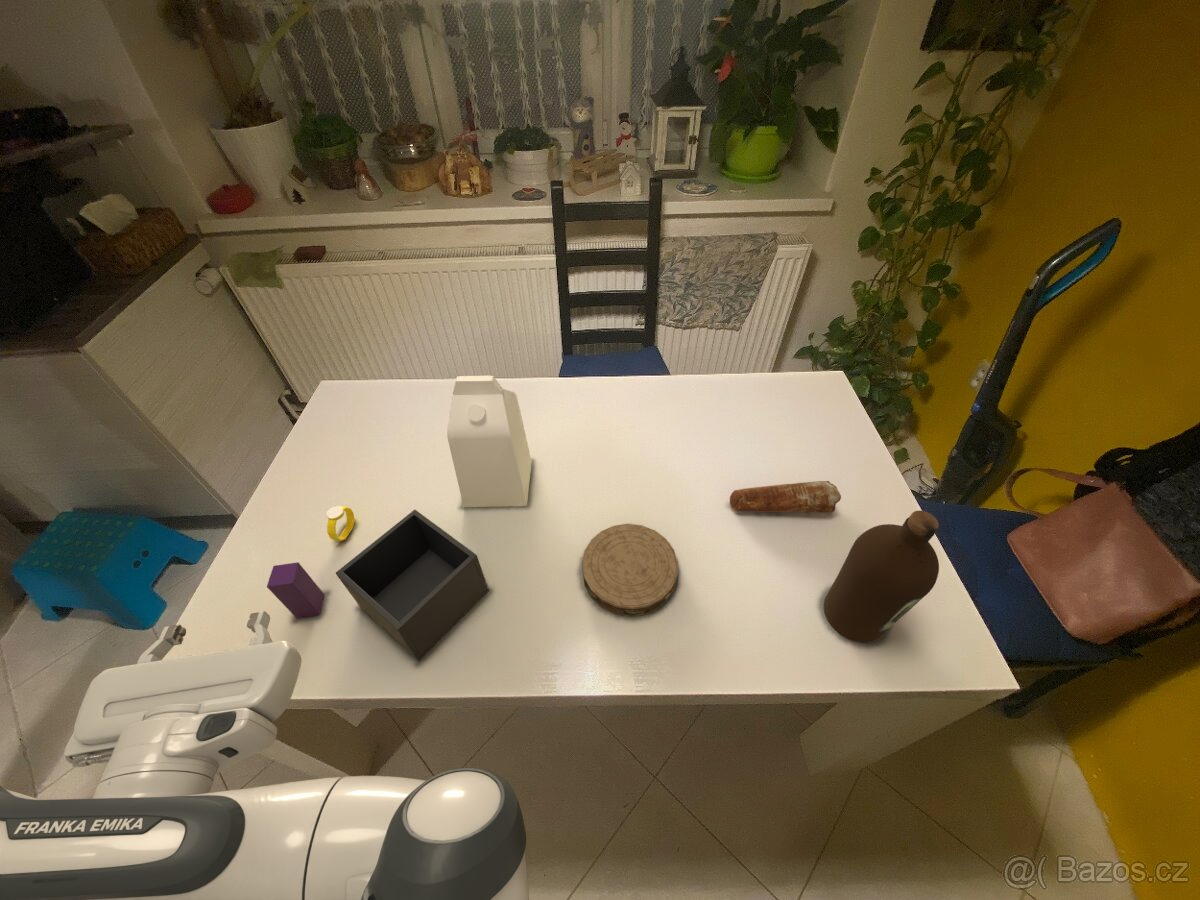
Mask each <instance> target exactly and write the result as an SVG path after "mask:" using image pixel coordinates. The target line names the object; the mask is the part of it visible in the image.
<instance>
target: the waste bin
mask: <svg viewBox="0 0 1200 900" xmlns="http://www.w3.org/2000/svg"><path fill="white" fill-rule="evenodd" d="M335 575H336V577H337V578H338V579H339V580H340V582H341V583H342V585H343V586H344V588H345V589H346V590H347V591H348V593H349V595H350V596H351V597H352V598H353V599H354V601H355V602H356V604H357V605H358V607H359V608H360V609H361V610H362V611H363V612H364V613H366V614H367V615H368V616H369V617H370V618H371V619H372V620H373V621H374V622H375V623H376V624H377V625H378V626H379V627H381V628H382V629H383V630H384V632H386V633H387V634H388V635H389V636H390V637H391V638H392V639H393V640H395V642H397V644H399V645H400V646H401V647H402V648H403V649H404V650H405V651H406V652H407V653H409V654H410V655H411V656H412V657H413V658H414V659H415V660H416V661H417V662H418V663H419V662H420V661H421V660H422V659H424V657H425V656H426V655H427V654H428V653H429V652H430V651H432V649H433V648H434V647H435V646H436V645H437V644H438V643H439V642H440V641H441V640H442V639H443V638H444V637H445V636H446V635H447V634H448V633H449V632H450V631H451V630H452V629H453V628H454V627H455V626H456V625H457V624H458V623H459V622H460V621H461V620H462V619H463V618H464V617H465V616H466V615H467V614H468V613H469V612H470V611H471V610H472V609H473V608H474V607H475V606H476V605H477V604H478V603H479V601H481V599H482V598H484V596H485V595H487V594H488V592H489V591H490V590H489V587H488V584H487V583H488V582H487V581H486V577H485V575H484V571H483V568H482V565H481V564H480V559H479V557H478V555H477V554H476V553H475V552H473V550H471V549H470V548H468V547H467V546H465V544H463V543H462V542H460V541H459V540H457V539H456V538H454V537H453V536H452V535H451V534H449V533H448V532H447V531H445V530H444V529H442V528H441V527H440V526H438V525H437V524H436V523H434V522H433V521H432V520H431V519H429V518H428V517H426V516H425V515H423V514H422V513H420V512H419V511H418V510H417V509H413V510H412V511H411V512H409V513H408V514H407V515H406V516H404V517H403V518H402V519H401V520H400V521H398V522H397V523H395V524H394V525H393V526H392V527H390V528H389V529H388V530H387V531H385V532H384V533H383V534H381V536H378V538H377V539H375V541H373V542H372V543H370V544H369V545H368V546H367V547H365V548H364V549H363V550H362V551H361V552H359V553H358V554H357V555H356V556H354V557H353V558H352V559H350V560H349V561H348V562H347V563H345V564H344V565H343V566H342V567H340V569H338V570H337V571H336V572H335Z"/></svg>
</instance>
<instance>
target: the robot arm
mask: <svg viewBox="0 0 1200 900" xmlns="http://www.w3.org/2000/svg"><path fill="white" fill-rule="evenodd" d="M270 622H271V616H270V614H268V612H267V611H258V612H252V613H250V614H249V619H248V620H247V622H246V627H247V628H248V629H250V630H251V632H253V633H255V635H256V637H252V638H251V639H250V642H249V645H247V646H241V647H234V648H229V649H222V650H216V651H210V652H204V653H198V654H192V655H185V656H180V657H172V658H167V659H166V658H165V657H166V655H167V654H169V652H170V651H171V650H172V649H173V647H174V646H180V645H182V644H183V642H184V637H185V636H186V635H187V629H186V627H183V626H182V625H181V624H174V625H168V626H164V627H163V629H162V631H161V634H160V636H159V638H158V639H157V640H155V642H154V643H152V644H151V645H150V646H149V647H148V648H147V649H146V650H144V652H142V654H140V655H139V657H138V660H137V662H136V663H135V664H130V665H129V664H128V665H123V666H116V667H110V668H106V669H104V670H102V671H101V672H100V673H99V674H97V676H94V678H93V679H92V680H91V681H90V684H89V686H88V687H87V689H86V692H85V694H84V697H83V699H82V701H81V705H80V707H79V710H78V713H77V716H76V719H75V722H74V726H73V732H72V734H71V736H70V738H69V740H68V741H67V744H66V746H65V748H64V751H63V756H64V758H65V761H66V762H67V763H69V764H72V767H73V768H84V767H88V766H91V765H94V764H105V763H106V766H105V768H104V771H103V773H102V776H101V778H100V779H99V782H98V785H97V786H96V789H95V791H94V794H93V796H92V798H64V799H62V798H61V799H60V798H59V799H58V798H57V799H40V798H36V797H33V796H29V795H26V794H23V793H19V792H18V791H17V792H16V791H13V790H10V789H7V788H4V787H3V786H2V785H0V900H530V891H529V879H528V878H529V876H528V868H527V860H526V853H525V852H526V847H527V831H526V827H525V821H524V817H523V811H522V809H521V805H520V802H519V799H518V797H517V794H516V792H515V790H514V788H513V787H512V786H511V784H510V783H509V782H508V780H507V779H505V778H504V777H502V776H501V775H499V774H497V773H495V772H493V771H490V770H486V769H481V768H475V767H460V768H453V769H448V770H446V771H443V772H440V773H438V774H435V775H433V776H432V777H429V778H428V779H426V780H425V779H418V778H410V777H402V776H388V775H354V776H353V775H349V776H348V775H347V776H333V777H322V778H313V779H305V780H296V781H290V782H283V783H282V782H281V783H275V784H270V785H262V786H254V787H248V788H238V789H229V790H221V791H212V792H210V791H211V789H212V786H213V785H214V784H213V783H214V781H215V778H216V775H217V774H220V773H222V772H223V771H225V770H227V769H228V768H230V767H233V766H234V765H236V764H237V763H240V762H242V761H244V760H245V759H247V758H250V757H252V756H254V755H256V754H258V753H261V752H263V751H264V750H266V749H269V748H270V747H271V746H272V745H274V743H275V741H276V738H277V735H278V727H277V726H276V725H275V724H274V723H273V722H275V721H276V720H277V719H279V718H280V717H281V716H282V715H283V714H284V712H285V711H286V709H287V708H288V706H289V703H290V701H291V699H292V696H293V693H294V691H295V687H296V685H297V681H298V679H299V678H298V677H299V675H300V670H301V667H302V661H303V659H302V655H301V654H300V652H299V651H298V649H296V648H295V646H293V645H292V644H291V643H290V642H289V641H286V640H279V641H273V639H272V636H271V635H270V632H269V630H268V628H269V625H270ZM164 658H165V659H164Z"/></svg>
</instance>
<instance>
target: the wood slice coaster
mask: <svg viewBox="0 0 1200 900" xmlns="http://www.w3.org/2000/svg"><path fill="white" fill-rule="evenodd" d="M581 568H582V570H581V571H582V577H583V584H584V587H585V589H586V592H587V593H588V595H589V596H590V598H591V599H592V600H593V601H594V602H595V603H596V604H597V605H598V606H599V607H601V609H603V610H606V611H607V612H610V613H612V614H615V615H617V616H624V617H631V618H633V617H639V616H645V615H648V614H651V613H652V612H654V611H656V610H658V609H660V608H661V607H663V605H664V604H665V603H666V602H667V601H668V600H669V599H670V598H671V596H672V594H673V592H674V589H675V587H676V584H677V579H678V568H679V561H678V558H677V555H676V551H675V549H674V547H673V546H672V545H671V543H670V542H669V541H668V539H667V538H666V537H664V536H663V535H662V534H660V533H659V532H658V531H657V530H655V529H653V528H650V527H647V526H645V525H643V524H633V523H623V524H616V525H612V526H610V527H608V528H605V529H603V530H601V531H600V532H599V533H597V534H596V535H595V536H593V538H591V539H590V541H589V543H588V544H587V545H586V547H585V549H584V551H583V557H582V560H581Z"/></svg>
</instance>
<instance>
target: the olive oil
mask: <svg viewBox="0 0 1200 900" xmlns="http://www.w3.org/2000/svg"><path fill="white" fill-rule="evenodd" d="M939 526H940V524H939V521H938V519H937V517H935V516H934V515H933V514H931V513H930V512H927V511H925V510H914V511H913V512H911V514H910V515H909V517H907V518H906V519H905V521H904V522H903V524H902V525H900V524H893V523H892V524H891V523H888V524H887V523H886V524H878V525H876V526H873V527H870V528H869V529H867V530H865V531H864V532H863V533H861V534H860V535H858V537H857V538H856V539H855V541H854V542H853V544H852V546H851V547H850V550H849V552H848V553H847V556H846V557H845V560H844V561H843V564H842V566H841V568H840V570H839V571H838V574H837V576H836V578H835V579H834V581H833V583H832V584H831V587H830V588H829V590H828V592H827V593H826V595H825V598H824V601H823V612H824V615H825V618H826V619H827V621H828V623H829V624H830V626H831V627H832V628H833V629H834V630H835V631H836V632H837V633H839V634H840V635H841V636H843V637H844V638H846V639H848V640H851V641H853V642H858V643H863V644H864V643H867V644H868V643H873V642H875V641H877V640H879V639H880V638H882V637H883V636H884V635H885V634H886V633H887V632H888V631H889V630H890V629H891V628H892V627H893V626H894V625H895V624H896V623H898V621H900V620H901V619H902V618H903V617H904V616H905V615H906V614H907V613H908V612H910V611H911V609H913V608H914V607H915V606H916V605H917V604H918V603H919V602H921V600H923V599H924V598H925V597H926V596H927V595H928V594H929V593H930V592H931V591H932V589H933V588H934V587H935V585H936V583H937V580H938V577H939V572H940V562H939V557H938V555H937V553H936V550H935V548H934V547H933V545H932V544H931V543H930V540H931V539H932V538H933V537H934V536H935V533H936V531H937V530H938V529H939Z"/></svg>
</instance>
